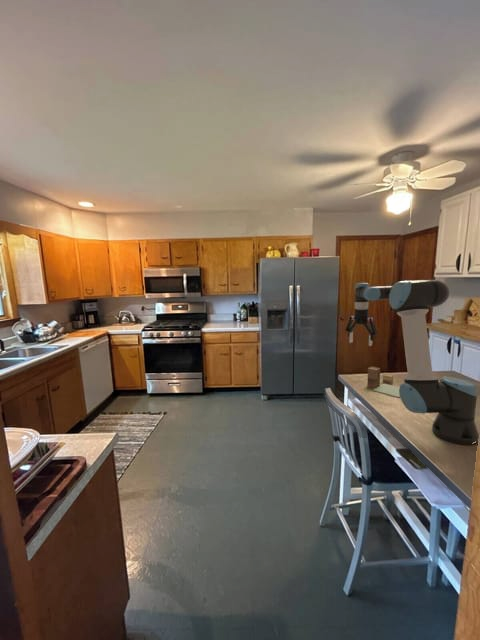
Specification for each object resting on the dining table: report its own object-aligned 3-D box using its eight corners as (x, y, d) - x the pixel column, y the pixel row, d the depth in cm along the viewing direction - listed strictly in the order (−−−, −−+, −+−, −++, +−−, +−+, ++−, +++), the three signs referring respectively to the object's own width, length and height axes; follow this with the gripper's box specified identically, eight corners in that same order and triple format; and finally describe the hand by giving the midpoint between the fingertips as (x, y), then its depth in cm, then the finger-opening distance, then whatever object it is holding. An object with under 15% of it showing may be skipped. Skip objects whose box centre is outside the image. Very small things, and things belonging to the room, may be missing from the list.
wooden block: (375, 388, 165) (376, 370, 164) (367, 386, 169) (367, 368, 168) (379, 386, 168) (380, 368, 167) (371, 383, 172) (372, 366, 171)
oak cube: (391, 384, 170) (392, 376, 170) (382, 382, 173) (382, 375, 173) (393, 382, 174) (393, 374, 174) (384, 380, 177) (384, 372, 177)
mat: (398, 397, 151) (398, 396, 151) (372, 390, 162) (372, 389, 162) (409, 390, 160) (409, 389, 160) (384, 384, 171) (384, 383, 171)
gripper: (384, 309, 162) (383, 346, 165) (346, 307, 181) (345, 340, 184) (378, 310, 158) (377, 348, 161) (339, 308, 176) (339, 342, 179)
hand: (360, 344), depth 172 cm, fingers open, 12 cm apart
